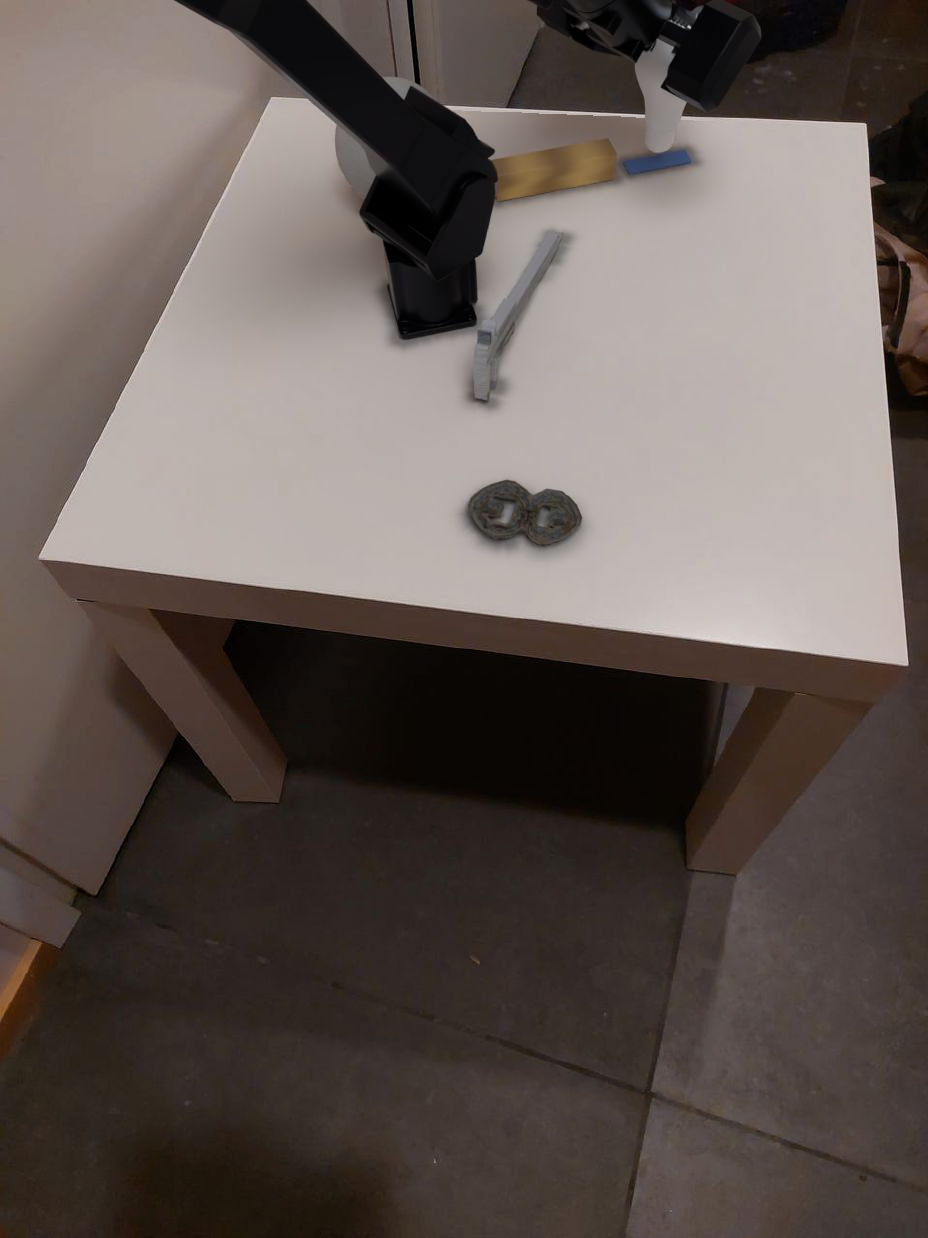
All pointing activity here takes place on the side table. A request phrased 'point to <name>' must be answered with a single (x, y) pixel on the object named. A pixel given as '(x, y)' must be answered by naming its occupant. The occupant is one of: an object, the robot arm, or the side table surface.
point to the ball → (354, 155)
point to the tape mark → (657, 161)
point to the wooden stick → (555, 169)
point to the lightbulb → (658, 97)
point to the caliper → (508, 318)
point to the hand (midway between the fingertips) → (680, 69)
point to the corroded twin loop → (524, 512)
